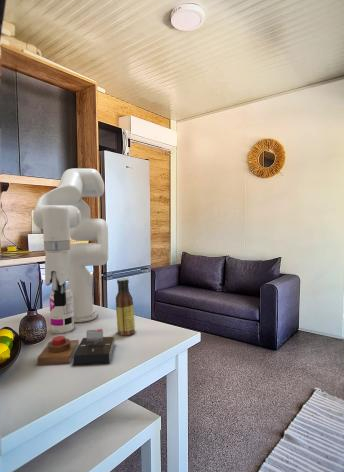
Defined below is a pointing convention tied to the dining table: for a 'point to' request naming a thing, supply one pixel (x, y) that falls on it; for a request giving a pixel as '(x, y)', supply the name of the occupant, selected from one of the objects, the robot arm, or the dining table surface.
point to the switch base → (94, 352)
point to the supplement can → (62, 314)
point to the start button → (59, 340)
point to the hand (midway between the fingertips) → (60, 305)
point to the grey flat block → (95, 337)
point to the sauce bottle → (124, 308)
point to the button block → (58, 353)
